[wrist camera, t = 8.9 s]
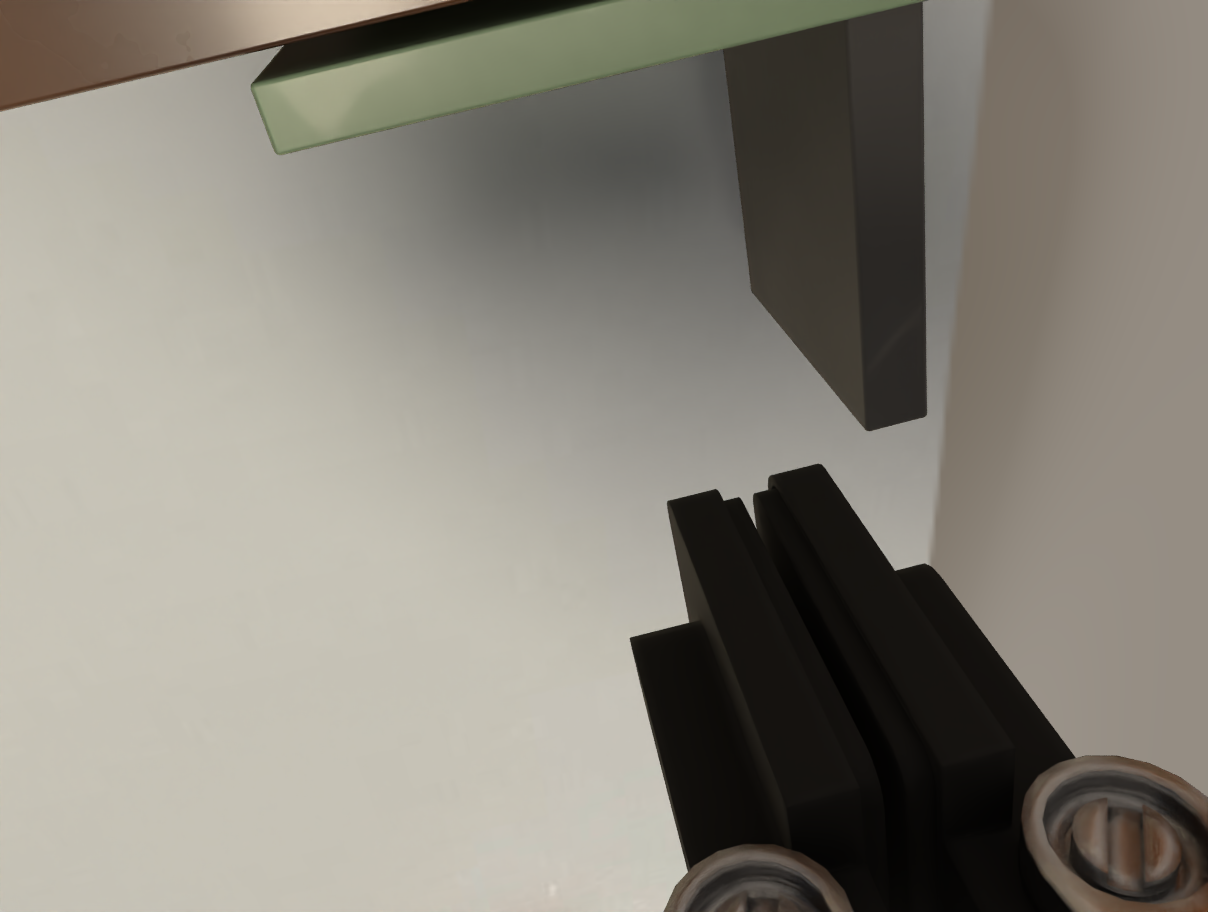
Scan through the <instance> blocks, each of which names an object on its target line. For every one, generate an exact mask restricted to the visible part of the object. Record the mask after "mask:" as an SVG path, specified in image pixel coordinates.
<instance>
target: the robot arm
mask: <svg viewBox="0 0 1208 912" xmlns="http://www.w3.org/2000/svg"><path fill="white" fill-rule="evenodd" d="M753 505H754V513H755V520H756V527H755V525H754V523H753V521H752V519H751V517H750V515H749V513H748V511H747V509H746V507H745V505H744V504H743V502H742V500H741V498H739V497H738V498H734V499H730V500H726V501H723V499H722V497H721V495H720V493H719V491H718V490H717V489H714V490H710V491H706V492H702V493H698V494H694V495H690V496H686V497H682V498H678V499H674V500H670V501H668V502H667V506H668V513H669V519H670V524H671V529H672V535H673V540H674V545H675V550H676V555H677V561H678V566H679V571H680V576H681V581H682V586H683V592H684V597H685V602H686V607H687V612H688V618H689V623H686V624H683V625H679V626H675V627H671V628H667V629H663V630H659V631H655V632H651V633H647V634H643V635H639V636H635V637H631V638H630V642H631V646H632V651H633V655H634V659H635V663H636V667H637V672H638V676H639V680H640V684H641V688H642V692H643V697H644V701H645V705H646V709H647V713H648V717H649V721H650V725H651V729H652V733H653V737H654V741H655V745H656V749H657V753H658V757H659V761H660V765H661V769H662V773H663V777H664V780H665V784H666V788H667V792H668V796H669V800H670V804H671V808H672V812H673V815H674V819H675V823H676V827H677V831H678V835H679V839H680V843H681V847H682V851H683V854H684V858H685V862H686V866H687V870H688V873H687V874H686V875H685V876H684V877H683V878H682V879H681V880H680V882H679V883H678V884H677V885H676V886H675V888H674V890H673V892H672V895H671V897H670V899H669V901H668V903H667V906H666V908H665V910H664V912H1208V797H1207V796H1205V795H1204V794H1203V793H1201V792H1200V791H1199V790H1197V789H1196V788H1195V787H1193V786H1192V785H1190V784H1189V783H1188V782H1186V781H1185V780H1184V779H1182V778H1181V777H1179V776H1177V775H1175V774H1172V773H1170V772H1168V771H1165V770H1163V769H1161V768H1159V767H1157V766H1155V765H1152V764H1150V763H1147V762H1142V761H1138V760H1134V759H1129V758H1124V757H1120V756H1082V757H1078V758H1075V756H1074V755H1073V754H1072V752H1071V751H1070V749H1069V748H1068V747H1067V745H1066V744H1065V743H1064V741H1063V740H1062V739H1061V738H1060V736H1059V735H1058V733H1057V732H1056V731H1055V729H1054V728H1053V727H1052V725H1051V724H1050V723H1049V721H1048V720H1047V719H1046V718H1045V716H1044V714H1043V713H1042V712H1041V710H1040V709H1039V708H1038V706H1037V705H1036V704H1035V702H1034V701H1033V700H1032V698H1031V697H1030V696H1029V694H1028V693H1027V692H1026V690H1025V689H1024V688H1023V686H1022V685H1021V684H1020V682H1019V681H1018V680H1017V678H1016V677H1015V676H1014V674H1013V673H1012V671H1011V670H1010V669H1009V667H1008V666H1007V665H1006V663H1005V662H1004V661H1003V659H1002V658H1001V657H1000V655H999V654H998V653H997V651H996V650H995V649H994V647H993V646H992V645H991V643H990V642H989V641H988V639H987V638H986V637H985V635H984V634H983V633H982V631H981V630H980V629H979V627H978V626H977V625H976V623H975V622H974V621H973V619H972V618H971V617H970V615H969V614H968V612H967V611H966V610H965V608H964V607H963V606H962V604H961V603H960V602H959V600H958V599H957V598H956V596H955V595H954V594H953V592H952V591H951V590H950V588H949V587H948V585H947V584H946V583H945V581H944V580H943V579H942V578H941V576H940V575H939V574H938V573H937V572H936V571H935V570H934V569H933V568H932V567H931V566H929V565H927V564H925V563H924V564H920V565H916V566H912V567H908V568H905V569H901V570H897V571H895V570H894V569H893V567H892V566H891V564H890V563H889V561H888V560H887V558H886V557H885V555H884V554H883V553H882V551H881V550H880V548H879V547H878V545H877V544H876V542H875V541H874V539H873V538H872V536H871V535H870V533H869V532H868V531H867V529H866V528H865V526H864V525H863V523H862V522H861V520H860V519H859V517H858V516H857V514H856V513H855V511H854V510H853V509H852V507H851V506H850V504H849V503H848V501H847V500H846V498H845V497H844V495H843V494H842V492H841V491H840V490H839V488H838V487H837V485H836V484H835V482H834V481H833V479H832V478H831V476H830V475H829V473H828V472H827V470H826V469H825V468H824V467H823V466H822V465H821V464H815V465H811V466H807V467H803V468H799V469H795V470H791V471H787V472H783V473H779V474H775V475H771V476H770V477H769V478H768V490H766V491H762V492H758V493H754V495H753ZM756 528H757V529H756Z"/></svg>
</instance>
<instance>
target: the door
mask: <svg viewBox="0 0 1208 912" xmlns="http://www.w3.org/2000/svg"><path fill="white" fill-rule="evenodd" d="M923 1H927V0H474V1H470V2H465V3H461V4H457V5H453V6H448V7H444V8H440V9H436V10H431V11H427V12H423V13H419V14H414V15H410V16H406V17H401V18H397V19H393V20H389V21H384V22H380V23H376V24H372V25H367V26H363V27H359V28H355V29H350V30H346V31H342V32H338V33H333V34H329V35H325V36H320V37H316V38H312V39H308V40H303V41H299V42H295V43H291V44H286V45H284V46H283V47H282V49H281V50H280V51H279V52H278V53H277V55H276V56H275V57H274V58H273V59H272V60H271V62H270V63H269V64H268V65H267V66H266V68H265V69H264V70H263V71H262V72H261V74H260V75H259V76H258V77H257V78H256V79H255V81H254V82H253V83H252V84H251V91H252V93H253V96H254V99H255V101H256V104H257V107H258V109H259V112H260V115H261V117H262V120H263V123H264V125H265V128H266V131H267V133H268V136H269V139H270V141H271V144H272V147H273V149H274V152H275V153H276V154H277V155H284V154H288V153H292V152H296V151H300V150H304V149H309V148H313V147H317V146H321V145H325V144H330V143H334V142H338V141H342V140H346V139H350V138H355V137H359V136H363V135H367V134H371V133H376V132H380V131H384V130H388V129H392V128H396V127H401V126H405V125H409V124H413V123H417V122H421V121H426V120H430V119H434V118H438V117H442V116H447V115H451V114H455V113H459V112H463V111H467V110H472V109H476V108H480V107H484V106H488V105H493V104H497V103H501V102H505V101H509V100H513V99H518V98H522V97H526V96H530V95H534V94H538V93H543V92H547V91H551V90H555V89H559V88H564V87H568V86H572V85H576V84H580V83H584V82H589V81H593V80H597V79H601V78H605V77H610V76H614V75H618V74H622V73H626V72H630V71H635V70H639V69H643V68H647V67H651V66H655V65H660V64H664V63H668V62H672V61H676V60H681V59H685V58H689V57H693V56H697V55H701V54H706V53H710V52H714V51H718V50H722V49H723V52H724V60H725V69H726V77H727V86H728V95H729V103H730V112H731V120H732V129H733V137H734V146H735V155H736V163H737V172H738V180H739V189H740V198H741V206H742V215H743V223H744V232H745V241H746V249H747V258H748V266H749V275H750V283H751V291H752V293H753V294H754V295H755V296H756V297H757V299H758V300H759V301H760V302H761V304H762V305H763V306H764V307H765V308H766V310H767V311H768V312H769V313H770V314H771V316H772V317H773V318H774V319H775V321H776V322H777V323H778V324H779V325H780V327H781V328H782V329H783V330H784V331H785V333H786V334H787V335H788V336H789V338H790V339H791V340H792V341H793V342H794V344H795V345H796V346H797V347H798V348H799V350H800V351H801V352H802V353H803V355H804V356H805V357H806V358H807V359H808V361H809V362H810V363H811V364H812V365H813V367H814V368H815V369H816V370H817V372H818V373H819V374H820V375H821V376H822V378H823V379H824V380H825V381H826V382H827V384H828V385H829V386H830V387H831V389H832V390H833V391H834V392H835V393H836V395H837V396H838V397H839V398H840V400H841V401H842V402H843V403H844V404H845V406H846V407H847V408H848V409H849V410H850V412H851V413H852V414H853V415H854V417H855V418H856V419H857V420H858V421H859V423H860V424H861V425H862V426H863V427H864V429H865V430H866V431H872V430H876V429H880V428H884V427H888V426H892V425H895V424H899V423H903V422H907V421H911V420H915V419H919V418H923V417H925V416H926V415H927V376H926V280H925V185H924V89H923Z"/></svg>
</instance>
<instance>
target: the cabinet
mask: <svg viewBox="0 0 1208 912" xmlns="http://www.w3.org/2000/svg"><path fill="white" fill-rule="evenodd" d="M470 1H474V0H0V112H1V111H5V110H9V109H14V108H18V107H22V106H26V105H31V104H35V103H39V102H43V101H48V100H52V99H56V98H60V97H65V96H69V95H73V94H77V93H82V92H86V91H90V90H95V89H99V88H103V87H107V86H112V85H116V84H120V83H124V82H129V81H133V80H137V79H141V78H146V77H150V76H154V75H158V74H163V73H167V72H171V71H176V70H180V69H184V68H188V67H193V66H197V65H201V64H205V63H210V62H214V61H218V60H222V59H227V58H231V57H235V56H239V55H244V54H248V53H252V52H257V51H261V50H265V49H269V48H274V47H278V46H282V45H286V44H291V43H295V42H299V41H303V40H308V39H312V38H316V37H320V36H325V35H329V34H333V33H338V32H342V31H346V30H350V29H355V28H359V27H363V26H367V25H372V24H376V23H380V22H384V21H389V20H393V19H397V18H401V17H406V16H410V15H414V14H419V13H423V12H427V11H431V10H436V9H440V8H444V7H448V6H453V5H457V4H461V3H465V2H470Z"/></svg>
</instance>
